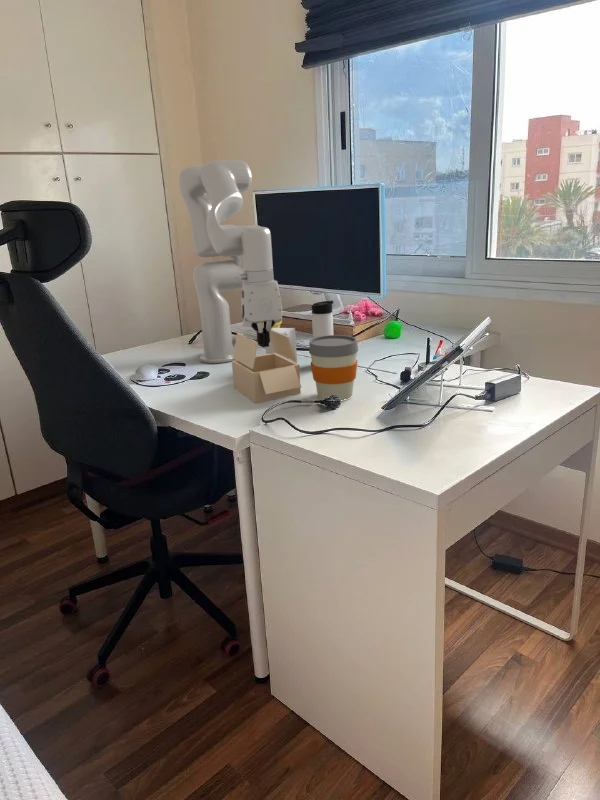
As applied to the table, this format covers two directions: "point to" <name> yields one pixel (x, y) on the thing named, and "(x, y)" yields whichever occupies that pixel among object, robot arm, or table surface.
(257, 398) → the carton
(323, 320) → the travel mug
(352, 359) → the reusable coffee cup
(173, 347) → the table surface
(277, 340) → the flap
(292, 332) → the supplement box
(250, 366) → the flap
